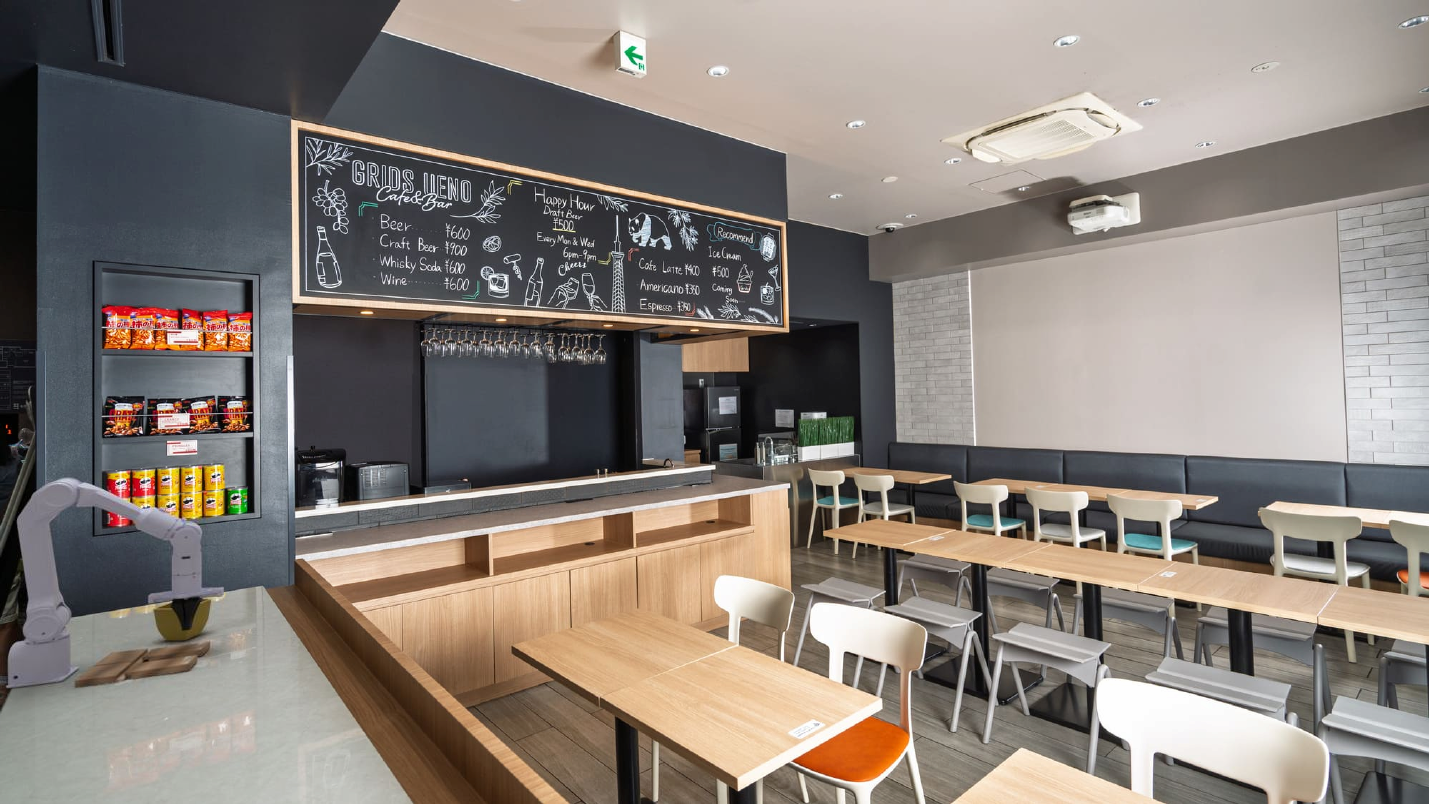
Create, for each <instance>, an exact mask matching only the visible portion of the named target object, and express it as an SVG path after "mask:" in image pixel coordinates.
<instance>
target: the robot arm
mask: <svg viewBox="0 0 1429 804" xmlns="http://www.w3.org/2000/svg"><path fill="white" fill-rule="evenodd" d="M76 503H77V504H76ZM75 504H76V505H75ZM73 505H75V507H76V508H84V507H85V508H86V507H97V508H99V509H102V510H104V511H107V512H110V513H111V514H112V513H113V514H115V515H118V516H119V517H123V518H126V519H128V520H130V521H133V522H134V524H135V528H136V529H137V530H139V531H141V532H144V533H146V534H147V535H148V534H149V535H151V536H153V537H156V538H157V539H160V540H163V541H169V542H170V544H171V546H172V548H173V549H172V551H173V552H172V556H171V590H169V591H162V592H155V593H154V592H153V593H150V594H149V595H148V597H147V600H148V601H147V602H148V605H149V604H155V603H163V602H172V604H171V608H172V609H173V611H174V612H175V613H176V615H177V617H178V619H179V621H180V624H181V628H182V631H185V630H190V629H191V628H192V623H193V619H194V616H195V613H196V611H197V609H198V607H199V605H200V603H201V601H202V599H208V598H222V597H223V596H224V595H225V593H224V591H225V589H224V586H223V587H202V580H203V579H202V569H203V567H202V565H203V564H202V562H203V561H202V554H203V553H202V551H201V550H202V545H201V541H202V536H203V529H202V528H201V527H200V525H199V524H197V523H196V522H195V521H189V520H188V519H187V518H185V517H182V518H180V517H178V516H175V515H173V514H170V513H169V512H166V511H167V509H166V508H164V507H162V506H160V507H159V508H157V507H154V506H153V507H147V508H143V507H141V506H139V505H137V504H134V503H132V502H130V501H129V500H126V499H124V498H122V497H120V496H117V495H116V494H115V493H114V494H113V493H112V492H109V491H107V490H105V489H103V488H101V487H98V486H96V485H93V484H92V483H88V482H85V481H84V482H81V480H79V479H77V478H74V477H61V478H59V479H56V480H54V481H51V482H49V483H46V484H44V485H43V486H42V487H40V488H39V489H38V490H36V491H35V492H33V494H32V495H31V498H30V499H29V500H28V501H27V503H26V505H25V506H24V508H23V509H22V511H21V513H20V514H19V515H18V516H17V520H16V524H17V531H18V539H19V545H20V552H21V557H22V565H23V571H24V578H25V584H26V590H27V599H28V601H27V607H26V611H25V612H26V620H25V622H24V624H23V627H22V631H23V632H22V633H23V635H24V637H25V639H24V640H21V641H16V642H15V643H13V644H12V646H11V647H10V650H9V652H8V657H7V677H8V678H7V681H8V682H7V683H8V684H7V685H6V689H10V688H12V689H13V688H18V687H19V688H20V687H27V686H28V687H29V686H34V685H42V684H52V683H58V682H63V681H64V680H66V679H67V678H68V677H70V676H72V675H73V674H74V673H75V672H77V671H78V670H79V669H80V667H79V666H73V667H72V666H71V660H72V659H71V631H70V630H69V629H68V628H67V627H66V626H67V625H68V624H69V622H70V621H71V618H72V610H71V609H70V608H69V607H68V606H67V605H66V604H65V601H64V596H63V595H62V593H61V591H60V587H59V579H58V573H57V566H56V561H55V560H56V559H55V554H54V548H53V547H54V546H53V541H52V540H53V539H52V533H51V526H50V523H51V521H52V520H54V518H56V517H57V516H59V514H61V512H62V511H63V510H66V509H67V508H69V507H70V506H71V507H72V506H73ZM187 520H188V521H187Z"/></svg>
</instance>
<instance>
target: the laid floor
mask: <svg viewBox="0 0 1429 804" xmlns="http://www.w3.org/2000/svg"><path fill="white" fill-rule="evenodd" d="M148 652H149V648H148V647H146V648H140V649H139V648H138V649H132V650H131V649H130V650H121V651H115V652H110V653H109V654H108V655H106V656H105V657H104V658H103V659H100V661H98V662H97V663H95V665H93V666H92V667H91V668H89V669H88V670H87V671H86V672H84V673H83V674H82V675H80V676H79V677H78V678H77V679H75V680H74V688H75V689H76V688H78V689H79V688H84V687H92V685H93V686H99V685H98V684H100V685H107V684H106V683H108V684H113V683H112V682H116V683H120V682H119V681H123V682H124V681H125V680H126V679H127V678H129V677H130V676H129V675H126V676H124V673H125V672H126V671H127V670H128V669H129V668H130V667H132V666H133V665H134V664H135V663H143V662H144V661H145V662H147V661H148V659H146V660H142V657H143V656H144V655H145V654H147V653H148ZM128 676H129V677H128Z"/></svg>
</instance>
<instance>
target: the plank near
mask: <svg viewBox="0 0 1429 804" xmlns="http://www.w3.org/2000/svg"><path fill="white" fill-rule="evenodd" d="M197 662H198V656H197V655H194V656H186V657H179V658H172V659H164V660H157V661H150V662H148V661H145V662H143V663H135V664H134V665H133V666H132V667H130V668H129V669H128V670H127V671H126V672H125V673H124V676H126V675H130V679H131V680H132V679H133V678H134V679H141V678H147V677H146V676H148V677H152V676H153V677H154V675H155V676H159V675H158V674H162V675H168V674H167V673H169V674H175V672H176V673H181V671H183V672H188V671H191V669H192V668H193V667H194V666H195V665H196V663H197ZM194 664H195V665H194ZM179 671H180V672H179ZM140 677H141V678H140Z"/></svg>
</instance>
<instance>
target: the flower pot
mask: <svg viewBox="0 0 1429 804" xmlns="http://www.w3.org/2000/svg"><path fill="white" fill-rule="evenodd" d="M211 602H212V598H203V599H202V601H201V603H200V605H199V607H198V609H197V611H196V613H195V616H194V619H193V623H192V628H191V629H190V630H185V631H182V628H181V624H180V621H179V619H178V617H177V615H176V613H175V612H174V611H173V609H172V608H171V604H172V601H169V602H168V603H166V604H163V605H160V606H157V607H155V608H153V609H152V610H153V615H154V621H155V625H156V627H157V628H156V629H157V631H158V632H159V634H160V635H161V636H162V638H164V640H165V641H170V640H171V641H183V640H184V641H187V640H190V639H192V638H193V637H196V636H198V635H200V634H201V633H202V631H203V630H204V628H205V626H206V625H207V623H208V622H209V621H208V620H209V617H210V613H211V612H210V611H211V604H212V603H211Z"/></svg>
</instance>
